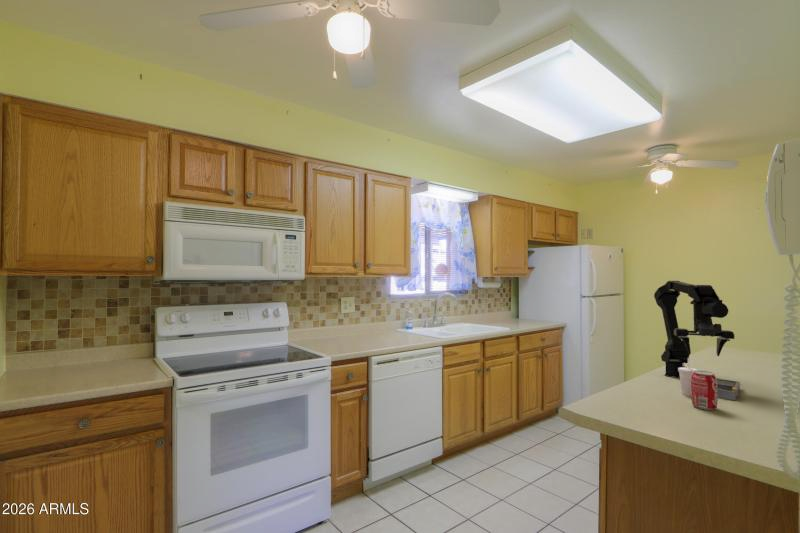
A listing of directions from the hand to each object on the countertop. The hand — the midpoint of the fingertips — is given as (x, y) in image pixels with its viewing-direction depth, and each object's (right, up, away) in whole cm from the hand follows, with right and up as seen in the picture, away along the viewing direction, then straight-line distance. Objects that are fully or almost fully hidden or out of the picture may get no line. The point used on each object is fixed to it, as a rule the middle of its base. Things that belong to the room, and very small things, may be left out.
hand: (703, 355), depth 159 cm
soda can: (-18, -13, -24) cm, 32 cm away
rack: (+2, -13, -5) cm, 14 cm away
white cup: (-13, -13, -9) cm, 20 cm away
